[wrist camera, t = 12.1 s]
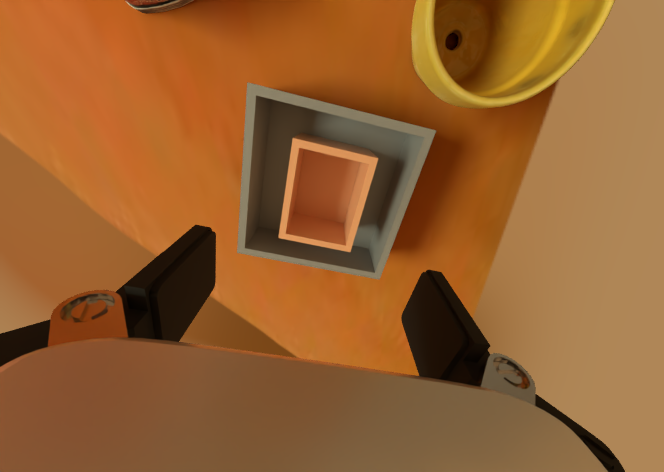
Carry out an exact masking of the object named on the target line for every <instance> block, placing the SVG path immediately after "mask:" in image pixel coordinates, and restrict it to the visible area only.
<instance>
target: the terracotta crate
mask: <svg viewBox="0 0 664 472" xmlns="http://www.w3.org/2000/svg"><path fill="white" fill-rule="evenodd" d="M377 162H378V157H376V156H375V155H374V154H373V153H372V152H371V151H370V150H369V149H367V148H363V147H359V146H355V145H351V144H346V143H342V142H338V141H334V140H330V139H326V138H322V137H318V136H313V135H309V134H305V133H300V134H298V135H297V136H295V137H293V140H292V147H291V154H290V160H289V167H288V174H287V181H286V188H285V195H284V202H283V209H282V216H281V223H280V230H279V237H278V238H281V239H286V240H291V241H296V242H301V243H306V244H311V245H316V246H321V247H326V248H331V249H336V250H341V251H346V252H351V248H352V245H353V242H354V238H355V235H356V232H357V228H358V225H359V222H360V218H361V215H362V212H363V208H364V205H365V202H366V198H367V195H368V192H369V188H370V185H371V182H372V178H373V175H374V172H375V168H376V165H377Z"/></svg>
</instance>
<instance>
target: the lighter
mask: <svg viewBox="0 0 664 472" xmlns="http://www.w3.org/2000/svg"><path fill="white" fill-rule="evenodd" d="M125 1H126V2H127V3H128V4H129V5H130V6H131V7H133V8H135V9H137V10H138V11H140V12H142V13H155V12H164V11H168V10H171V9H175V8H178V7H182V6H184V5H186V4H188V3H189V2H191V1H193V0H125Z"/></svg>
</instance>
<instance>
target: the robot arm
mask: <svg viewBox="0 0 664 472" xmlns="http://www.w3.org/2000/svg"><path fill="white" fill-rule="evenodd" d="M215 268H216V234H215V232H213V231H212V229H211V228H210V227H205V226H200V225H195V226H193V227H192V228H191V229H190V230H189V231H188V232H186V233H185V234H184V235H183V236H182V237H181V238H179V239H178V240H177V241H176V242H175V243H173V244H172V245H171V246H170V247H169V248H168V249H166V250H165V251H164V252H162V253H161V254H160V255H159V256H157V257H156V258H155V259H154V260H153V261H152V262H150V263H149V264H148V265H147V266H146V267H144V268H143V269H142V270H141V271H140V272H139V273H137V274H136V275H135V276H134V277H133V278H131V279H130V280H129V281H128V282H127V283H126V284H124V285H123V286H122V287H121V288H120V289H118V290H117V291H116V292H114V291H109V290H94V291H88V292H84V293H81V294H77V295H75V296H73V297H71V298H68V299H67V300H65V301H64V302H62V303H61V304H59V305H58V306H57V307H56V308H55V309H54V311H53V313H52V315H51V319H50V320H47V321H43V322H40V323H36V324H33V325H29V326H26V327H22V328H19V329H16V330H12V331H9V332H5V333H1V334H0V472H625V470H624V469H623V467H622V465H621V464H620V462H619V460H618V459H617V458H616V457H615V455H614V454H613V453H612V451H611V450H610V449H609V448H608V447H607V446H606V445H605V444H604V443H603V442H602V441H600V440H599V439H598V438H596V437H595V436H594V435H592V434H591V433H590V432H588V431H587V430H585V429H584V428H583V427H581V426H580V425H578V424H577V423H576V422H574V421H573V420H571V419H570V418H569V417H567V416H566V415H564V414H563V413H562V412H560V411H559V410H557V409H556V408H555V407H553V406H552V405H550V404H549V403H548V402H546V401H545V400H543V399H542V398H541V397H539V396H538V395H536V394H535V391H536V388H535V383H534V381H533V379H532V377H531V376H530V375H529V373H528V372H527V371H526V370H525V369H524V368H523V367H522V366H521V365H520V364H518V363H517V362H516V361H514V360H513V359H511V358H509V357H507V356H505V355H502V354H499V353H493V354H489V352H488V348H489V347H490V344H489V343H488V341H487V340H486V339H485V337H484V336H483V334H482V333H481V331H480V329H479V328H478V326H477V325H476V323H475V322H474V320H473V319H472V317H471V316H470V314H469V313H468V311H467V310H466V308H465V307H464V305H463V304H462V302H461V301H460V299H459V298H458V296H457V295H456V293H455V292H454V290H453V289H452V287H451V286H450V284H449V283H448V281H447V280H446V278H445V277H444V275H443V274H442V273H441V272H438V271H432V270H427V271H426V272H423V273H422V274H421V276H420V278H419V280H418V282H417V284H416V286H415V289H414V291H413V293H412V295H411V297H410V299H409V301H408V303H407V305H406V307H405V309H404V311H403V314H402V324H403V327H404V330H405V333H406V336H407V339H408V342H409V345H410V348H411V351H412V354H413V357H414V360H415V364H416V367H417V370H418V373H419V376H414V375H408V374H401V373H394V372H388V371H381V370H375V369H368V368H362V367H355V366H348V365H341V364H334V363H328V362H321V361H314V360H307V359H300V358H293V357H286V356H279V355H271V354H265V353H258V352H250V351H244V350H237V349H230V348H222V347H215V346H207V345H199V344H192V343H183V342H179V341H180V339H181V337H182V336H183V335H184V333H185V331H186V330H187V328H188V327H189V325H190V324H191V322H192V321H193V319H194V318H195V316H196V315H197V313H198V312H199V310H200V309H201V307H202V306H203V304H204V303H205V301H206V300H207V298H208V297H209V295H210V293H211V292H212V290H213V289H214V286H215Z"/></svg>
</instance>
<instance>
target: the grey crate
mask: <svg viewBox="0 0 664 472" xmlns="http://www.w3.org/2000/svg"><path fill="white" fill-rule="evenodd" d="M300 133H305V134H309V135H313V136H318V137H322V138H326V139H330V140H334V141H338V142H342V143H346V144H351V145H355V146H359V147H363V148H367V149H369V150H370V151H371V152H372V153H373V154H374V155H375V156H376V157H378V162H377V165H376V168H375V172H374V175H373V178H372V182H371V185H370V188H369V192H368V195H367V198H366V202H365V205H364V208H363V212H362V215H361V218H360V222H359V225H358V228H357V232H356V235H355V238H354V242H353V245H352V248H351V252H346V251H341V250H336V249H331V248H326V247H321V246H316V245H311V244H306V243H301V242H296V241H291V240H286V239H281V238H278V237H279V230H280V223H281V216H282V209H283V202H284V195H285V188H286V181H287V174H288V167H289V160H290V154H291V147H292V140H293V137H295V136H297V135H298V134H300ZM435 133H436V130H432V129H428V128H424V127H421V126H417V125H413V124H409V123H405V122H401V121H397V120H393V119H389V118H385V117H381V116H377V115H373V114H370V113H366V112H362V111H358V110H354V109H350V108H346V107H342V106H338V105H334V104H330V103H326V102H322V101H319V100H315V99H311V98H307V97H303V96H299V95H295V94H291V93H287V92H283V91H279V90H275V89H271V88H267V87H264V86H260V85H256V84H252V83H248V82H247V97H246V114H245V131H244V147H243V164H242V181H241V197H240V214H239V231H238V247H237V253H241V254H246V255H252V256H257V257H262V258H268V259H273V260H278V261H284V262H289V263H294V264H300V265H305V266H310V267H316V268H321V269H326V270H332V271H337V272H342V273H348V274H353V275H358V276H364V277H369V278H374V279H380V277H381V274H382V272H383V269H384V266H385V264H386V261H387V259H388V256H389V253H390V251H391V248H392V245H393V243H394V240H395V238H396V235H397V232H398V230H399V227H400V224H401V222H402V219H403V217H404V214H405V211H406V209H407V206H408V203H409V201H410V198H411V196H412V193H413V190H414V188H415V185H416V183H417V180H418V177H419V175H420V172H421V169H422V167H423V164H424V162H425V159H426V156H427V154H428V151H429V148H430V146H431V143H432V141H433V138H434V135H435Z"/></svg>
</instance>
